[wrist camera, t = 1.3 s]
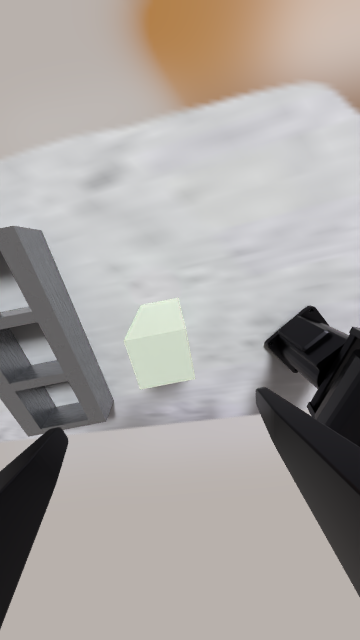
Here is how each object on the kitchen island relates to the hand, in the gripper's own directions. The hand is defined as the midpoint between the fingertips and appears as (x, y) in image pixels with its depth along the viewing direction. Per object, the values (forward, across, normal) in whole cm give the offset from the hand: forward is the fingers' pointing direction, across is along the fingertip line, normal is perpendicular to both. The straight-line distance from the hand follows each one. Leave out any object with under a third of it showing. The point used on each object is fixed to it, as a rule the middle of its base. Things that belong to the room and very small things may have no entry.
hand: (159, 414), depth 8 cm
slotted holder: (+12, +13, 0) cm, 18 cm away
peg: (+12, 0, 0) cm, 12 cm away
